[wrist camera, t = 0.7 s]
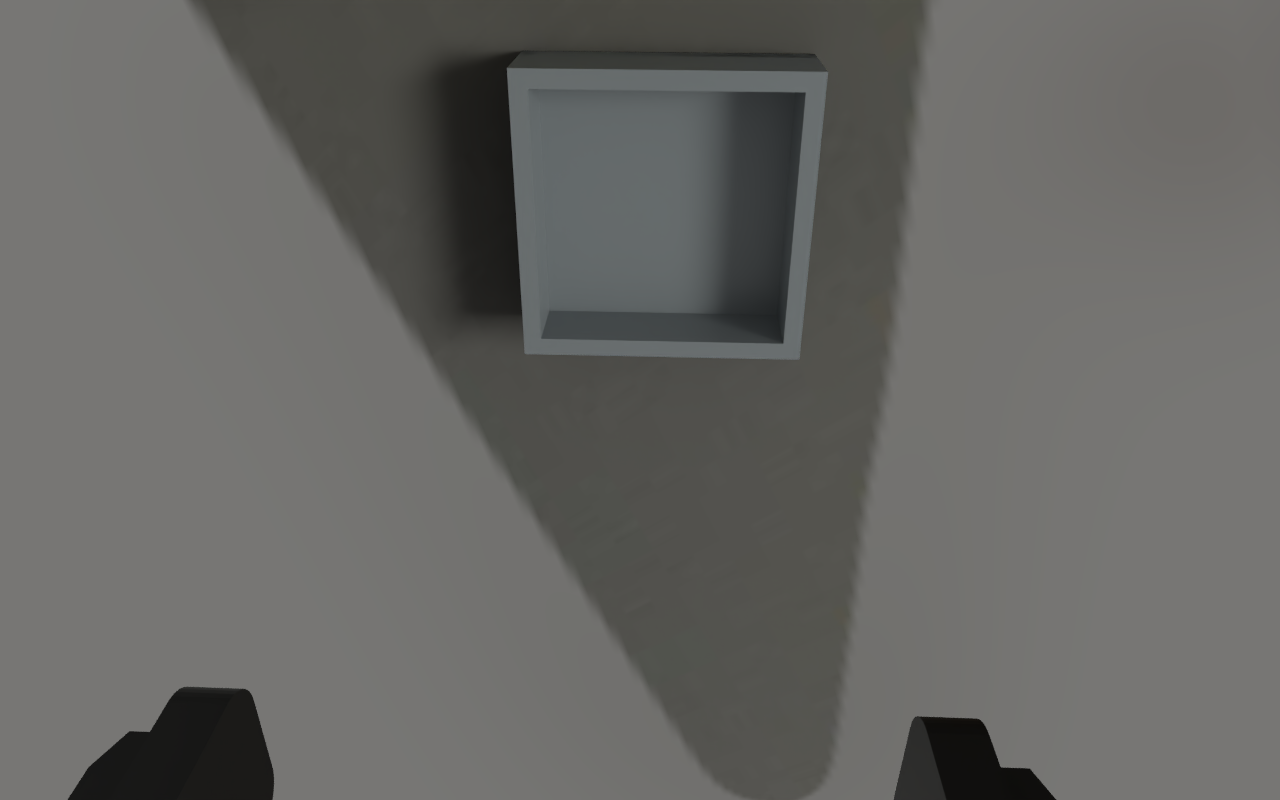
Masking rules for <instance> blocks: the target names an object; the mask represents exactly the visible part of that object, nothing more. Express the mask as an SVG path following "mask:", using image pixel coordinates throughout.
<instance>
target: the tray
mask: <svg viewBox="0 0 1280 800" xmlns="http://www.w3.org/2000/svg"><path fill="white" fill-rule="evenodd" d="M827 77H828V71H827V70H826V68H825V67H824V66H823V64H822V63H821V62H820V60H819V59H818V58H817V56H816V55H815V54H758V53H668V52H578V51H522V52H521V53H520V54H519V55H518V56H517V57H516V58H515V59H514V61H513V62H512V63H511V64H510V65H509V66H508V67H507V78H508V94H509V110H510V126H511V142H512V158H513V174H514V190H515V206H516V222H517V238H518V253H519V269H520V285H521V301H522V317H523V333H524V349H525V354H550V355H599V356H647V357H696V358H744V359H793V360H799V358H800V348H801V338H802V328H803V318H804V308H805V298H806V288H807V278H808V268H809V258H810V248H811V238H812V228H813V218H814V208H815V198H816V188H817V178H818V168H819V157H820V147H821V137H822V127H823V117H824V107H825V97H826V87H827Z"/></svg>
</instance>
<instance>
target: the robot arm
mask: <svg viewBox="0 0 1280 800" xmlns="http://www.w3.org/2000/svg"><path fill="white" fill-rule="evenodd" d="M273 789H274V774H273V768H272V764H271V760H270V757H269V753H268V750H267V747H266V742H265V739H264V735H263V732H262V728H261V725H260V721H259V717H258V714H257V710H256V707H255V703H254V700H253V697H252V695H251V693H250V692H249V691H248V690H246V689H232V688H205V687H183V688H181V689H179V690H178V691H176V693H174V695H173V696H172V697H171V699H170V700H169V701H168V703H167V705H166V707H165V708H164V710H163V711H162V713H161V715H160V716H159V718H158V720H157V721H156V723H155V725H154V726H153V728H152V730H151V731H150V732H134V731H130V732H128V733H127V734H126V735H125V736H124V737H123V738H121V739H120V740H119V741H118V742H117V743H116V744H115V745H113V746H112V747H111V748H110V749H109V750H108V751H107V752H106V753H104V754H103V755H102V756H101V757H100V758H99V759H98V760H97V761H95V762H94V763H93V764H92V765H91V766H90V767H89V768H88V769H87V771H86V772H85V774H84V775H83V777H82V778H81V780H80V781H79V783H78V785H77V786H76V788H75V789H74V791H73V792H72V794H71V795H70V797H69V798H68V800H272V799H273V791H274V790H273ZM894 800H1056V799H1055V798H1054V797H1053V796H1052V795H1051V793H1050V792H1049V791H1048V790H1047V788H1046V787H1045V786H1044V785H1043V784H1042V783H1041V781H1040V780H1039V779H1038V778H1037V777H1036V776H1035V774H1034V773H1033V772H1032V771H1031V770H1030V769H1025V768H1001V767H1000V764H999V762H998V759H997V756H996V753H995V750H994V747H993V744H992V742H991V739H990V736H989V734H988V731H987V729H986V727H985V725H984V724H983V722H982V721H981V720H979V719H972V718H943V717H918V716H917V717H915V718H914V719H913V721H912V724H911V727H910V731H909V735H908V740H907V744H906V749H905V753H904V757H903V761H902V766H901V770H900V774H899V778H898V783H897V787H896V791H895V797H894Z"/></svg>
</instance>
